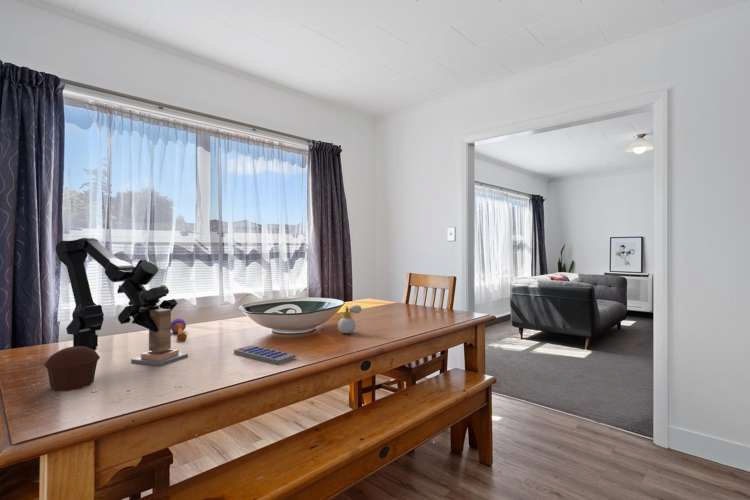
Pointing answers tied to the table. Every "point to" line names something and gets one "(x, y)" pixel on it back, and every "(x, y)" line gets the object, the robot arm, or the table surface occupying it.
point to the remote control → (264, 354)
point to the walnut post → (160, 330)
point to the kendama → (179, 328)
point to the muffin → (72, 368)
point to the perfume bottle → (348, 320)
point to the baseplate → (159, 357)
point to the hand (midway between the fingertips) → (163, 329)
